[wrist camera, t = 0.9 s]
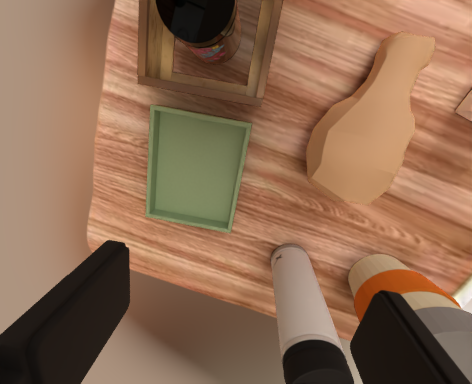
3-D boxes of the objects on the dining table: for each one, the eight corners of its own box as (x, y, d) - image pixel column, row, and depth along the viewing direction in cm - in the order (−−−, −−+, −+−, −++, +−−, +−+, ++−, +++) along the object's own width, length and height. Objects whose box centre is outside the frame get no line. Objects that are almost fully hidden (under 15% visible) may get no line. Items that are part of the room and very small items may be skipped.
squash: (288, 180, 34) (290, 189, 25) (349, 40, 30) (377, -8, 21) (359, 208, 33) (387, 228, 24) (433, 66, 29) (500, 26, 20)
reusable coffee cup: (430, 282, 38) (533, 384, 24) (361, 315, 41) (416, 422, 27) (392, 230, 35) (484, 309, 21) (322, 270, 39) (361, 361, 25)
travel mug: (266, 245, 38) (277, 378, 19) (306, 240, 37) (360, 374, 18) (271, 276, 40) (286, 423, 21) (309, 272, 39) (361, 422, 20)
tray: (158, 104, 32) (150, 104, 29) (252, 122, 31) (251, 123, 29) (153, 209, 37) (145, 216, 35) (232, 224, 37) (230, 233, 34)
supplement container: (177, 24, 28) (137, -22, 18) (224, -12, 27) (207, -82, 17) (206, 76, 30) (183, 60, 20) (251, 46, 28) (250, 12, 19)
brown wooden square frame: (161, -51, 26) (141, -87, 21) (287, -28, 26) (295, -59, 21) (154, 87, 31) (136, 83, 26) (260, 107, 31) (261, 107, 26)
